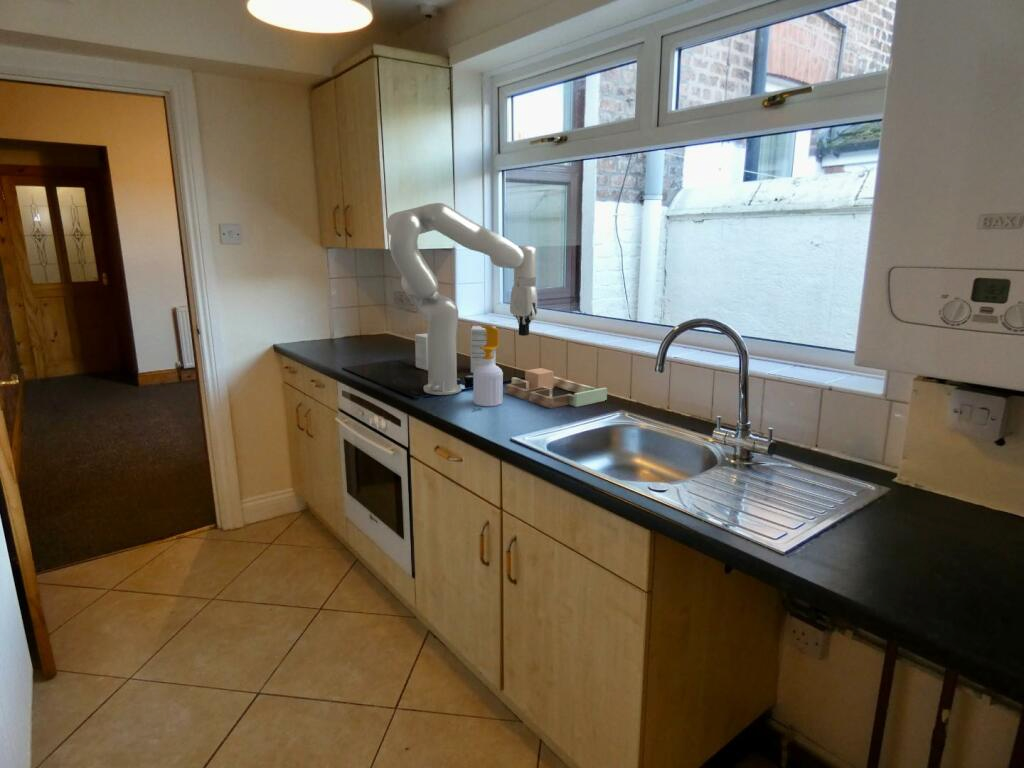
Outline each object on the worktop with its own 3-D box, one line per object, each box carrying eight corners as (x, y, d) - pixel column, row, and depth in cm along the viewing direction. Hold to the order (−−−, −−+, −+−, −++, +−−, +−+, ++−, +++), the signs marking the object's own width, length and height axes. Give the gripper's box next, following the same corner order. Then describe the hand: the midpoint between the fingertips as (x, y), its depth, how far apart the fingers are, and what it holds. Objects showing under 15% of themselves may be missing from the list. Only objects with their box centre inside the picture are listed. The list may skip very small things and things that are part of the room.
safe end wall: (573, 406, 194) (574, 393, 193) (603, 399, 202) (604, 387, 201) (576, 406, 193) (576, 394, 192) (606, 400, 201) (607, 388, 200)
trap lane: (493, 389, 214) (494, 380, 213) (540, 380, 226) (541, 372, 226) (555, 410, 190) (555, 400, 189) (603, 399, 202) (604, 390, 202)
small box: (440, 368, 245) (439, 335, 241) (426, 370, 241) (425, 337, 238) (429, 365, 251) (428, 332, 248) (415, 367, 247) (414, 334, 244)
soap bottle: (468, 404, 195) (467, 325, 189) (483, 397, 202) (483, 322, 197) (493, 408, 191) (493, 328, 185) (507, 401, 198) (508, 324, 193)
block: (525, 387, 218) (525, 370, 216) (540, 384, 222) (540, 367, 220) (538, 391, 212) (538, 374, 211) (553, 388, 216) (554, 371, 215)
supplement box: (494, 373, 237) (494, 329, 233) (470, 373, 237) (470, 329, 233) (495, 368, 246) (496, 325, 242) (472, 368, 246) (472, 325, 242)
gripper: (502, 281, 219) (502, 333, 223) (530, 284, 207) (529, 339, 212) (519, 280, 223) (518, 331, 228) (547, 283, 212) (546, 337, 216)
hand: (523, 335), depth 220 cm, fingers closed
